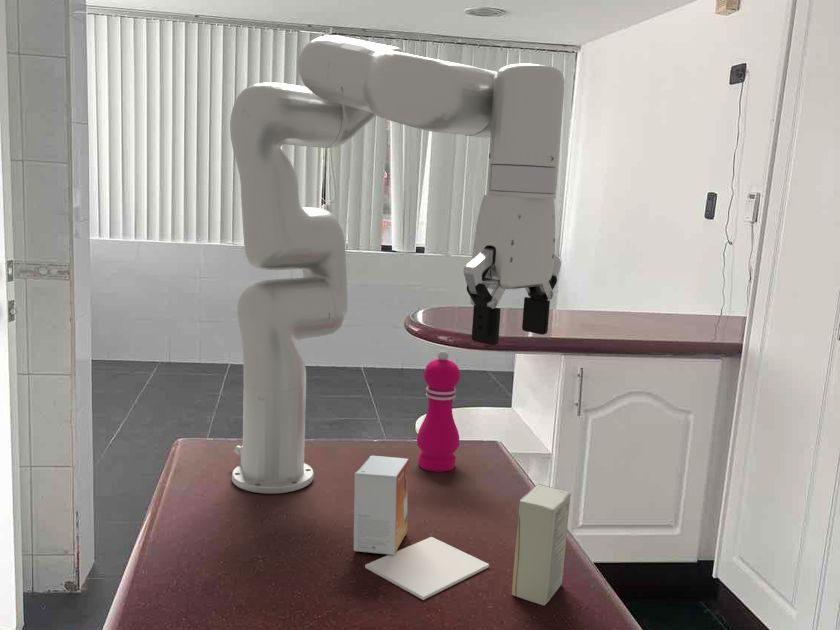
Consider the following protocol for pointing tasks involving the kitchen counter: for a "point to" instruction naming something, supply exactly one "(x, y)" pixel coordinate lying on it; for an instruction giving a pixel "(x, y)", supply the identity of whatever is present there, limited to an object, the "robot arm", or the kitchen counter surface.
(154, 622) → the kitchen counter surface
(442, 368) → the pepper mill
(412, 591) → the mat
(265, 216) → the robot arm
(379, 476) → the small box
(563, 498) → the skincare box
